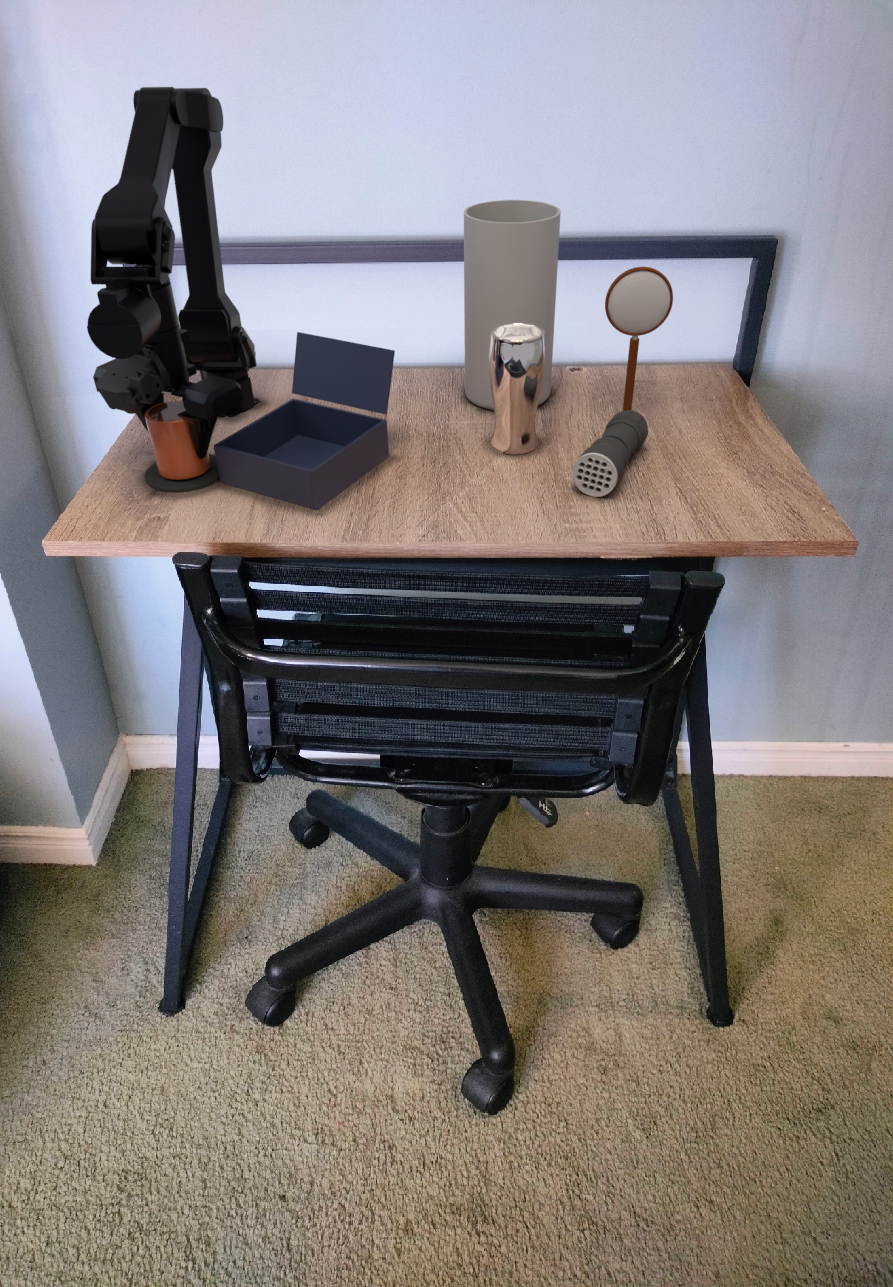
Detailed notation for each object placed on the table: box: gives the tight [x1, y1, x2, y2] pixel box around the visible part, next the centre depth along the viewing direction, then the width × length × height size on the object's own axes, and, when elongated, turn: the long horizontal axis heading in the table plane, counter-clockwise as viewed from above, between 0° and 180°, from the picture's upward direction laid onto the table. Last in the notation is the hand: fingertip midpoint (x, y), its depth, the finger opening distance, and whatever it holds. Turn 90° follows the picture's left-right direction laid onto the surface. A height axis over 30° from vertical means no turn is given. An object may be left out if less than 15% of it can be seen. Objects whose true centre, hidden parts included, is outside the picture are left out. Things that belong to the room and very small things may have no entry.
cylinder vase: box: [463, 199, 561, 411], centre depth 123 cm, size 12×12×25 cm
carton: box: [213, 398, 390, 511], centre depth 112 cm, size 16×15×5 cm
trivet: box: [144, 453, 220, 494], centre depth 113 cm, size 10×10×1 cm
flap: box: [291, 331, 396, 415], centre depth 114 cm, size 8×15×1 cm
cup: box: [145, 400, 211, 480], centre depth 110 cm, size 6×6×8 cm
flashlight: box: [571, 409, 649, 498], centre depth 111 cm, size 15×5×5 cm, turn 154°
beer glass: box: [489, 323, 545, 456], centre depth 114 cm, size 7×7×15 cm
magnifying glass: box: [604, 266, 674, 411], centre depth 118 cm, size 9×2×20 cm, turn 88°
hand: (181, 451), depth 111 cm, fingers closed on cup, 6 cm apart
